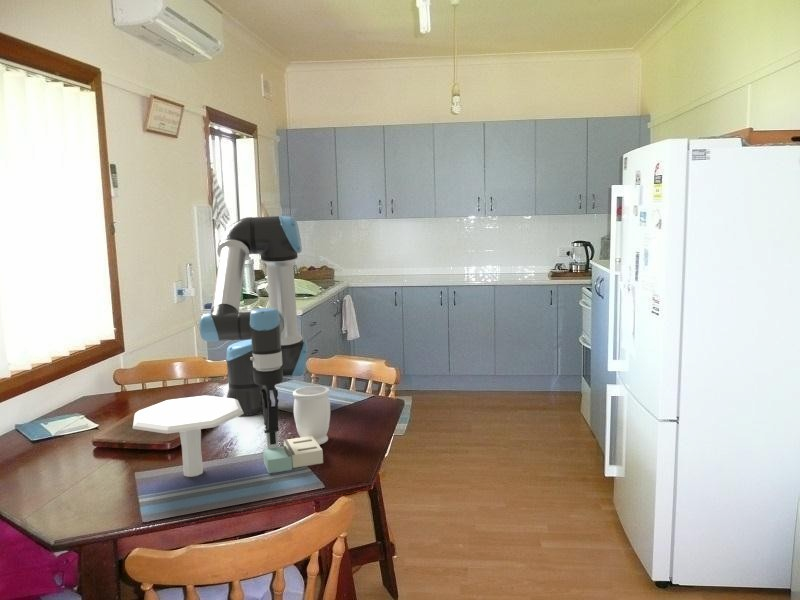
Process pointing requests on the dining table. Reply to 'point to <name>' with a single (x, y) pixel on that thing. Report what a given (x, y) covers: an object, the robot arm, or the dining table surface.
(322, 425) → the jar
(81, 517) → the dining table surface
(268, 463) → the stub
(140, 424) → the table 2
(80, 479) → the dining table surface
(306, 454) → the cream slotted block
